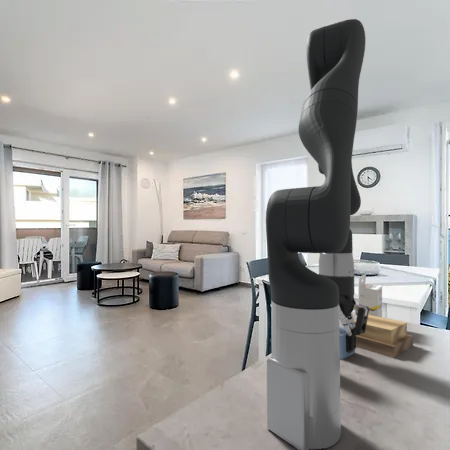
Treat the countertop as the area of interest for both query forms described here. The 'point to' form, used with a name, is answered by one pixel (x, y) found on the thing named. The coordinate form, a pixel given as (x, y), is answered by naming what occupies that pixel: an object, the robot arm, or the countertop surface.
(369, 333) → the oak top slab
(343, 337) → the slate block
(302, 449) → the robot arm
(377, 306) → the ink cartridge box
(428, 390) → the countertop surface
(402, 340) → the walnut base slab
